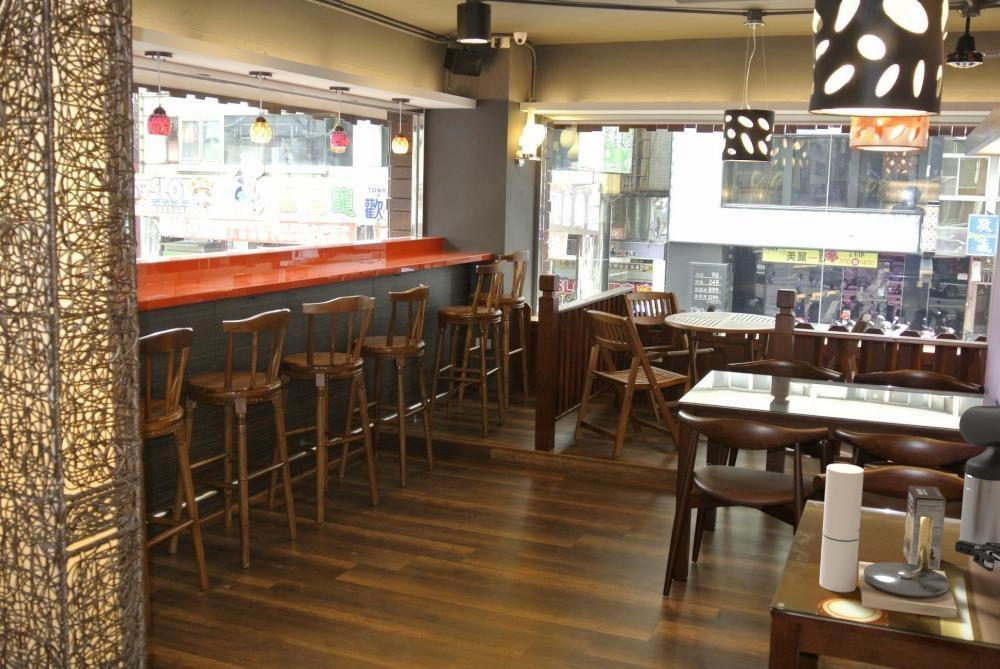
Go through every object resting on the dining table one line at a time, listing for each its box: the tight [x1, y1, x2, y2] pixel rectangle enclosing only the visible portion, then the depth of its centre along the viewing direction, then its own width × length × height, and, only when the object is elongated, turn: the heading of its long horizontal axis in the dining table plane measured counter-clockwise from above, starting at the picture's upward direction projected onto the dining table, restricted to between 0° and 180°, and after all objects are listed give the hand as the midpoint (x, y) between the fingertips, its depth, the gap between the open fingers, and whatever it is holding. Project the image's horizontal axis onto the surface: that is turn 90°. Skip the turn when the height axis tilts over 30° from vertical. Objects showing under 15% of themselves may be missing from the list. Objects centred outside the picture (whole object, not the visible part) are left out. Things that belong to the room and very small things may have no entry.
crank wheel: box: [863, 516, 949, 598], centre depth 204 cm, size 16×16×12 cm
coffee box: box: [903, 485, 946, 571], centre depth 221 cm, size 9×6×16 cm
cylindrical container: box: [818, 463, 865, 593], centre depth 207 cm, size 7×7×25 cm
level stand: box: [857, 560, 958, 619], centre depth 205 cm, size 20×17×2 cm
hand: (957, 545), depth 203 cm, fingers closed
